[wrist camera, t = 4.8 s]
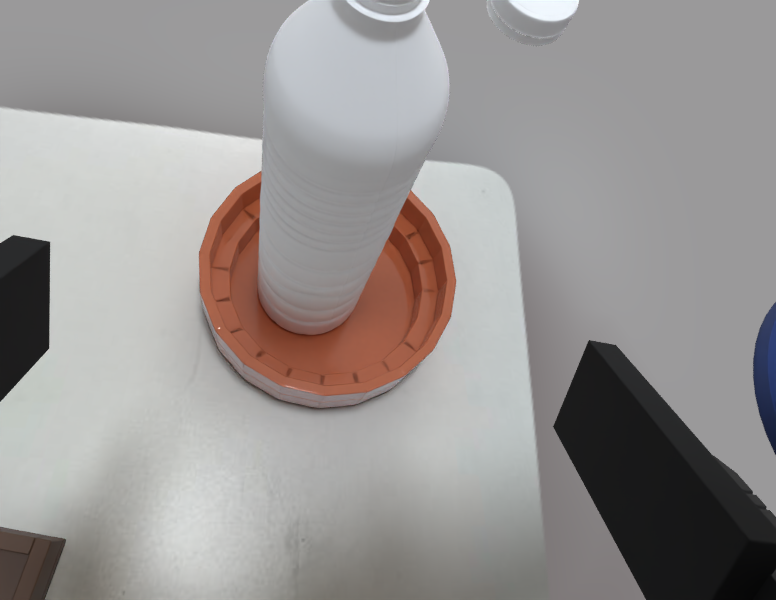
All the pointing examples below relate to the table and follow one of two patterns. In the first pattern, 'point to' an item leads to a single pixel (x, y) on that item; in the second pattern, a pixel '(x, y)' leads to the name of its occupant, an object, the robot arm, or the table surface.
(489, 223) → the table surface
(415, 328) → the bowl
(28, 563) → the tray
